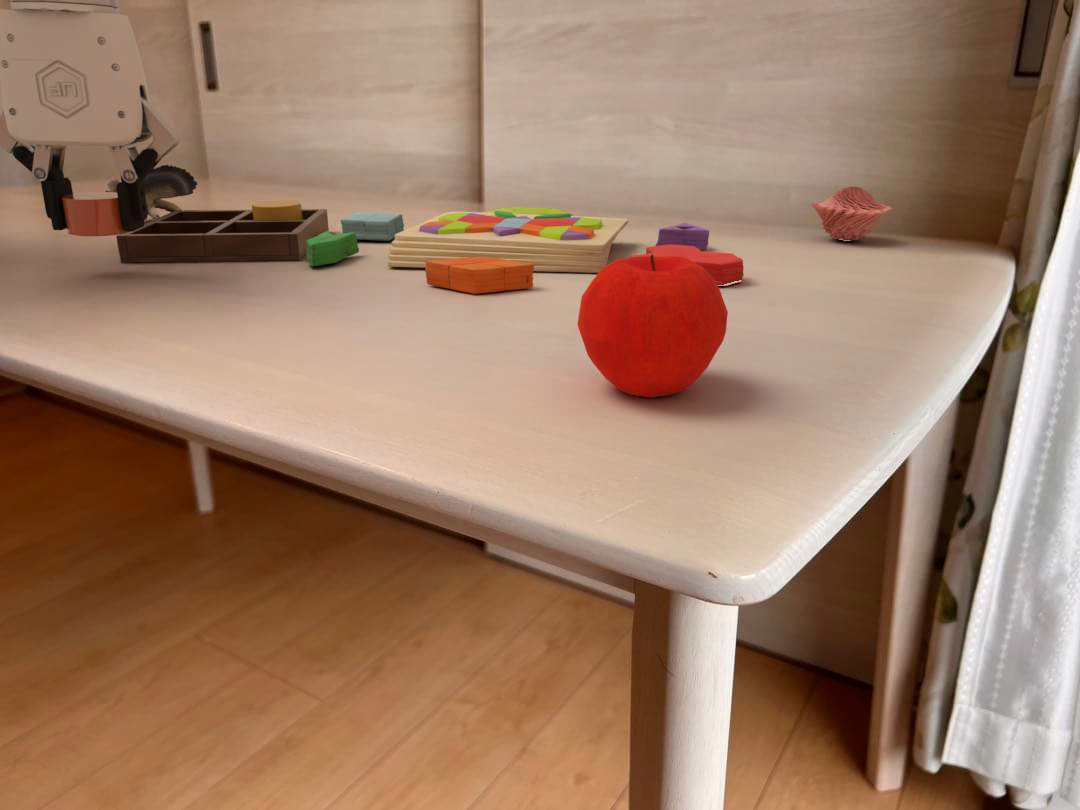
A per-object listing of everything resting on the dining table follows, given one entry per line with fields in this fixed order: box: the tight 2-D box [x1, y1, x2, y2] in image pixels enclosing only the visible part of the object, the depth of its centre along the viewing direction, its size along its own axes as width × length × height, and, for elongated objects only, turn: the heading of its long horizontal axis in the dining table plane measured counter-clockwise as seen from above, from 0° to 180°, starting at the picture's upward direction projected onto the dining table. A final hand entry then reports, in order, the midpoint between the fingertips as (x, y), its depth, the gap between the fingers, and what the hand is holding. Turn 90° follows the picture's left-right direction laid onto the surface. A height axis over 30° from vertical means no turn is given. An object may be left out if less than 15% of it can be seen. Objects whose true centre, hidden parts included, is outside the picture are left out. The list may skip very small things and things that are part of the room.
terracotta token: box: [62, 191, 130, 237], centre depth 73 cm, size 5×5×3 cm
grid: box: [115, 208, 330, 264], centre depth 87 cm, size 16×16×2 cm
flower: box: [810, 186, 894, 241], centre depth 89 cm, size 8×8×6 cm
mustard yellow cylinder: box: [251, 199, 303, 220], centre depth 91 cm, size 5×5×3 cm
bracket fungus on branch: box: [104, 164, 199, 220], centre depth 101 cm, size 8×7×9 cm
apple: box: [577, 254, 729, 398], centre depth 46 cm, size 8×8×7 cm
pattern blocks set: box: [306, 206, 745, 295], centre depth 83 cm, size 38×34×3 cm
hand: (99, 226), depth 73 cm, fingers closed on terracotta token, 5 cm apart
